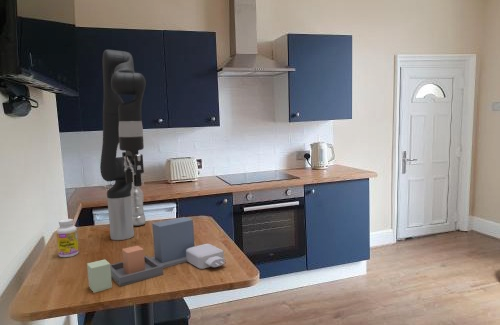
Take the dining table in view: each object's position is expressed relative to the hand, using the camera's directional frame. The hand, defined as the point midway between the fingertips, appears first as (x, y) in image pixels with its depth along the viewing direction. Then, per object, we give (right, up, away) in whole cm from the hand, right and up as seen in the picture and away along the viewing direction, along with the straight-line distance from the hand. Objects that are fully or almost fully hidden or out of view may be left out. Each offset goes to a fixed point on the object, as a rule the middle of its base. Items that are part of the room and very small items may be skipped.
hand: (133, 184), depth 124 cm
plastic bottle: (-13, -22, +51) cm, 57 cm away
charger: (+26, -26, -3) cm, 37 cm away
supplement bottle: (-28, -27, +13) cm, 40 cm away
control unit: (+13, -26, +3) cm, 29 cm away
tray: (+3, -27, -8) cm, 28 cm away
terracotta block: (+3, -26, -8) cm, 28 cm away
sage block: (-4, -28, -17) cm, 33 cm away
